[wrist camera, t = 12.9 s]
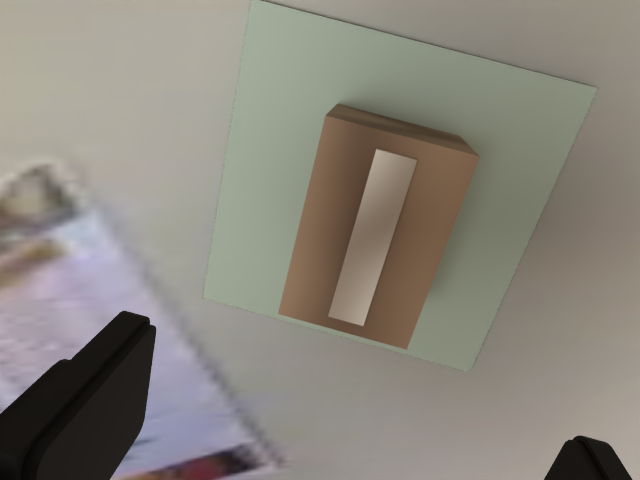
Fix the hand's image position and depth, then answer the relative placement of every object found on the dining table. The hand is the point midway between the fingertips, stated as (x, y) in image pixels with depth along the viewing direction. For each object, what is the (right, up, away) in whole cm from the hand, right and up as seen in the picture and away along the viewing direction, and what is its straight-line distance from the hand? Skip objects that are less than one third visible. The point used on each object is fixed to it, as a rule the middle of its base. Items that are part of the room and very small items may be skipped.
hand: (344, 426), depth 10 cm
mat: (+2, +6, +14) cm, 15 cm away
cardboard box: (+2, +6, +14) cm, 15 cm away
